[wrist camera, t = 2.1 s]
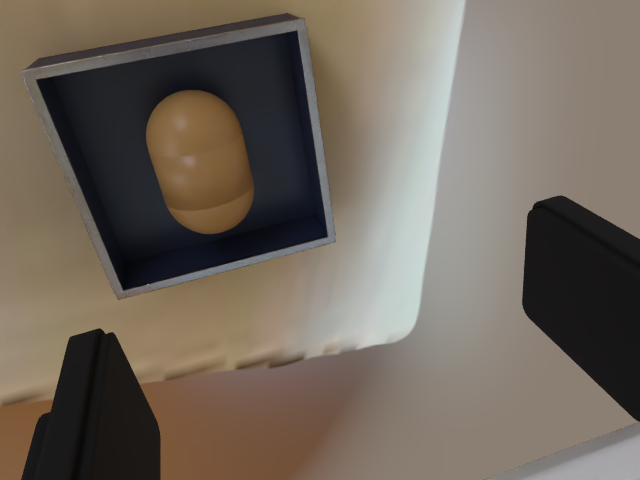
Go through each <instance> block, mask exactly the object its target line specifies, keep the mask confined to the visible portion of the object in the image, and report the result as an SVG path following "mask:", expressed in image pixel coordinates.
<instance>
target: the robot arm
mask: <svg viewBox="0 0 640 480" xmlns="http://www.w3.org/2000/svg"><path fill="white" fill-rule="evenodd" d="M526 232H527V233H526V247H525V265H524V281H523V298H522V305H523V308H524V311H525V313H526V315H527V316H528V317H529V319H531V320H532V321H533V322H534V323H535V324H536V325H537V326H538V327H539V328H540V329H541V330H542V331H543V332H544V333H545V334H546V335H547V336H548V337H549V338H550V339H551V340H552V341H553V342H555V343H556V344H557V345H558V346H559V347H560V348H561V349H562V350H563V351H564V352H565V353H566V354H567V355H568V356H569V357H570V358H571V359H572V360H573V361H574V362H575V363H576V364H578V365H579V366H580V367H581V368H582V369H583V370H584V371H585V372H586V373H587V374H588V375H589V376H590V377H591V378H592V379H593V380H594V381H595V382H596V383H597V384H598V385H599V386H601V387H602V388H603V389H604V390H605V391H606V392H607V393H608V394H609V395H610V396H611V397H612V398H613V399H614V400H615V401H616V402H617V403H618V404H619V405H620V406H621V407H622V408H624V409H625V410H626V411H627V412H628V413H629V414H630V415H631V416H632V417H633V418H634V419H636V420H637V421H639V422H637V423H635V424H632V425H629V426H627V427H624V428H621V429H618V430H616V431H613V432H610V433H608V434H605V435H602V436H600V437H597V438H594V439H591V440H589V441H586V442H583V443H581V444H578V445H575V446H573V447H570V448H567V449H565V450H562V451H559V452H557V453H554V454H551V455H549V456H546V457H543V458H541V459H538V460H536V461H533V462H530V463H527V464H525V465H522V466H519V467H517V468H514V469H511V470H509V471H506V472H503V473H501V474H498V475H495V476H493V477H490V478H487V479H485V480H640V239H638V238H637V237H634V236H633V235H631V234H629V233H628V232H626V231H624V230H623V229H621V228H619V227H617V226H616V225H614V224H612V223H610V222H609V221H607V220H605V219H603V218H602V217H600V216H598V215H596V214H594V213H593V212H591V211H589V210H588V209H586V208H584V207H582V206H581V205H579V204H577V203H575V202H574V201H572V200H570V199H568V198H567V197H564V196H556V197H552V198H549V199H546V200H542V201H538V202H536V203H535V204H534V206H533V208H532V210H531V211H529V213H528V216H527V231H526ZM21 480H160V431H159V427H158V423H157V421H156V418H155V416H154V414H153V412H152V410H151V408H150V406H149V404H148V402H147V400H146V397H145V395H144V393H143V391H142V389H141V387H140V385H139V383H138V381H137V379H136V377H135V375H134V372H133V370H132V368H131V366H130V364H129V362H128V360H127V358H126V356H125V354H124V352H123V350H122V347H121V345H120V343H119V341H118V339H117V337H116V335H115V334H114V333H113V332H111V333H107V334H105V333H104V331H103V330H102V329H100V328H99V329H95V330H92V331H89V332H85V333H82V334H78V335H75V336H72V337H70V338H69V341H68V344H67V348H66V352H65V356H64V360H63V364H62V368H61V372H60V376H59V380H58V384H57V388H56V392H55V396H54V401H53V405H52V409H51V412H49V413H46V414H43V415H42V416H41V417H40V418H39V420H38V422H37V424H36V428H35V431H34V435H33V438H32V442H31V446H30V450H29V453H28V457H27V461H26V464H25V468H24V471H23V475H22V479H21Z"/></svg>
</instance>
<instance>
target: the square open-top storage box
mask: <svg viewBox="0 0 640 480" xmlns="http://www.w3.org/2000/svg"><path fill="white" fill-rule="evenodd" d="M21 73H22V75H23V78H24V80H25V81H24V83H25V85H26V88H27V90H28V92H29V95H30V97H31V99H32V102H33V104H34V106H35V109H36V111H37V113H38V116H39V118H40V120H41V123H42V125H43V127H44V130H45V132H46V134H47V137H48V139H49V141H50V144H51V146H52V148H53V151H54V153H55V155H56V158H57V160H58V163H59V165H60V167H61V170H62V172H63V174H64V177H65V179H66V181H67V184H68V186H69V188H70V191H71V193H72V195H73V198H74V200H75V202H76V205H77V207H78V209H79V212H80V214H81V216H82V219H83V221H84V223H85V226H86V228H87V230H88V233H89V235H90V237H91V240H92V242H93V244H94V247H95V249H96V251H97V254H98V256H99V258H100V261H101V263H102V265H103V268H104V270H105V273H106V275H107V277H108V280H109V282H110V284H111V287H112V289H113V291H114V293H115V294H116V296H117V298H118V300H120V299H124V298H127V297H131V296H135V295H139V294H142V293H146V292H150V291H154V290H157V289H161V288H165V287H169V286H173V285H176V284H180V283H184V282H188V281H191V280H195V279H199V278H203V277H206V276H210V275H214V274H218V273H221V272H225V271H229V270H233V269H236V268H240V267H244V266H248V265H252V264H255V263H259V262H263V261H267V260H270V259H274V258H278V257H282V256H285V255H289V254H293V253H297V252H300V251H304V250H308V249H312V248H316V247H319V246H323V245H327V244H331V243H334V242H336V239H335V236H336V233H335V226H334V219H333V212H332V205H331V198H330V190H329V183H328V176H327V169H326V162H325V154H324V147H323V140H322V133H321V126H320V118H319V111H318V104H317V97H316V90H315V82H314V75H313V68H312V61H311V54H310V46H309V39H308V32H307V28H306V25H305V19H304V18H299V17H296V16H294V15H291V14H288V13H286V14H280V15H275V16H269V17H264V18H258V19H253V20H247V21H242V22H236V23H231V24H225V25H220V26H214V27H209V28H203V29H198V30H192V31H187V32H181V33H176V34H170V35H165V36H160V37H154V38H149V39H143V40H138V41H132V42H127V43H121V44H116V45H110V46H105V47H99V48H94V49H88V50H83V51H77V52H72V53H66V54H61V55H55V56H50V57H44V58H39V59H37V60H36V61H35V62H34V63H32V64H31V65H30V66H29V67H27V68H26V69H23V70H21ZM183 90H201V91H205V92H209V93H211V94H213V95H215V96H217V97H219V98H220V99H222V100H223V101H224V102H226V103H227V104H228V105H229V106H230V108H231V109H232V110H233V111H234V112H235V114H236V116H237V118H238V120H239V122H240V125H241V128H242V132H243V137H244V141H245V146H246V150H247V155H248V159H249V164H250V168H251V173H252V177H253V184H254V198H253V202H252V205H251V208H250V210H249V211H248V213H247V215H246V216H245V218H244V219H243V220H242V221H241V222H240V223H239V224H237V225H236V226H235V227H233V228H231V229H229V230H227V231H224V232H221V233H216V234H202V233H198V232H194V231H192V230H190V229H188V228H186V227H184V226H182V225H181V224H180V223H179V222H178V221H177V220H176V219H175V218H174V217H173V216H172V214H171V213H170V212H169V210H168V208H167V205H166V203H165V201H164V197H163V194H162V191H161V188H160V185H159V182H158V179H157V176H156V173H155V170H154V167H153V164H152V161H151V158H150V155H149V151H148V147H147V142H146V129H147V124H148V120H149V118H150V116H151V114H152V112H153V110H154V109H155V108H156V106H157V105H158V104H159V103H160V102H161V101H162V100H164V99H165V98H166V97H168V96H169V95H172V94H174V93H176V92H179V91H183Z"/></svg>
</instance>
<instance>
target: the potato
mask: <svg viewBox="0 0 640 480" xmlns="http://www.w3.org/2000/svg"><path fill="white" fill-rule="evenodd" d="M146 142H147V147H148V151H149V155H150V158H151V161H152V164H153V167H154V170H155V173H156V176H157V179H158V182H159V185H160V188H161V191H162V194H163V197H164V201H165V203H166V205H167V208H168V210H169V212H170V213H171V214H172V216H173V217H174V218H175V219H176V220H177V221H178V222H179V223H180V224H181V225H182V226H184V227H186V228H188V229H190V230H192V231H194V232H198V233H202V234H216V233H221V232H224V231H227V230H229V229H231V228H233V227H235V226H236V225H237V224H239V223H240V222H241V221H242V220H243V219H244V218H245V216H246V215H247V213H248V211H249V210H250V208H251V205H252V202H253V198H254V184H253V177H252V173H251V168H250V164H249V159H248V155H247V150H246V146H245V141H244V137H243V132H242V128H241V125H240V122H239V120H238V118H237V116H236V114H235V112H234V111H233V110H232V109H231V108H230V106H229V105H228V104H227V103H226V102H224V101H223V100H222V99H220V98H219V97H217V96H215V95H213V94H211V93H209V92H205V91H201V90H183V91H179V92H176V93H174V94H172V95H169V96H168V97H166V98H165V99H164V100H162V101H161V102H160V103H159V104H158V105H157V106H156V108H155V109H154V110H153V112H152V114H151V116H150V118H149V120H148V124H147V129H146Z"/></svg>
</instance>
